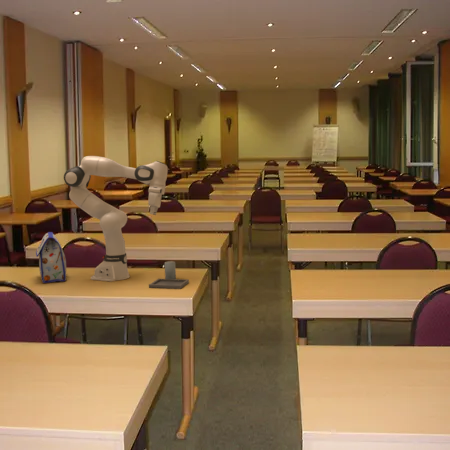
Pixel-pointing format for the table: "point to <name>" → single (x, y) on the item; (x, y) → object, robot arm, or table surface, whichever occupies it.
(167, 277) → the grey upright cylinder
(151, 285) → the tray
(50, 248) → the lunch bag
